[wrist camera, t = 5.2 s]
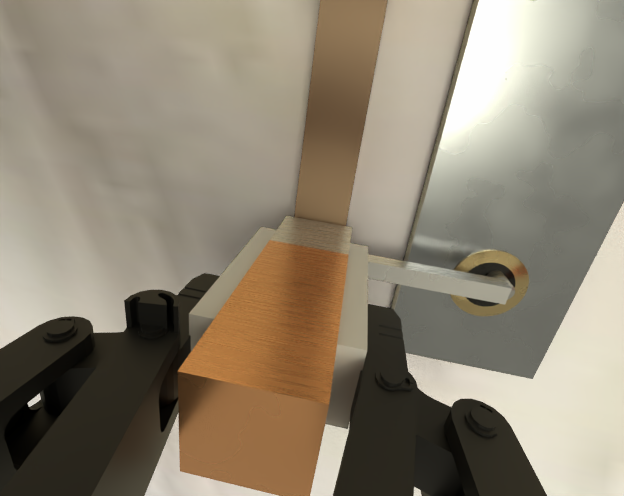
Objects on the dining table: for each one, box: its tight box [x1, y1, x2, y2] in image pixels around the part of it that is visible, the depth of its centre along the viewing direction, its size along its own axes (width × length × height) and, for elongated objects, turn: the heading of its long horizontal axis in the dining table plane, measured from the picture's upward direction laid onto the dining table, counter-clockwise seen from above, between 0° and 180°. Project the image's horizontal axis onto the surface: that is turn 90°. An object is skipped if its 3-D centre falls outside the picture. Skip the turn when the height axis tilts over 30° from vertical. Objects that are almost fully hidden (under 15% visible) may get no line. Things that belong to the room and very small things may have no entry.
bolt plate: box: [391, 0, 624, 379], centre depth 15 cm, size 24×8×1 cm, turn 172°
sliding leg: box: [177, 216, 515, 496], centre depth 12 cm, size 3×10×11 cm, turn 82°
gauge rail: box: [294, 0, 388, 226], centre depth 12 cm, size 28×10×7 cm, turn 172°
